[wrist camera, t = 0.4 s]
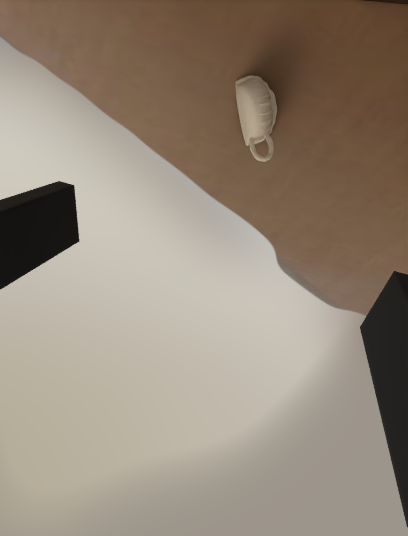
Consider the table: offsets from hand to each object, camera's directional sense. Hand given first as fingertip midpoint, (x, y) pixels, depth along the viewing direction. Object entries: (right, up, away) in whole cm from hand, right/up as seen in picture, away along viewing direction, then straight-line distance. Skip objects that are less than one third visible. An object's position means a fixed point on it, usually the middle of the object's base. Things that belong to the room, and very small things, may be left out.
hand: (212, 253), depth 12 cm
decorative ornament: (+6, +17, +21) cm, 28 cm away
